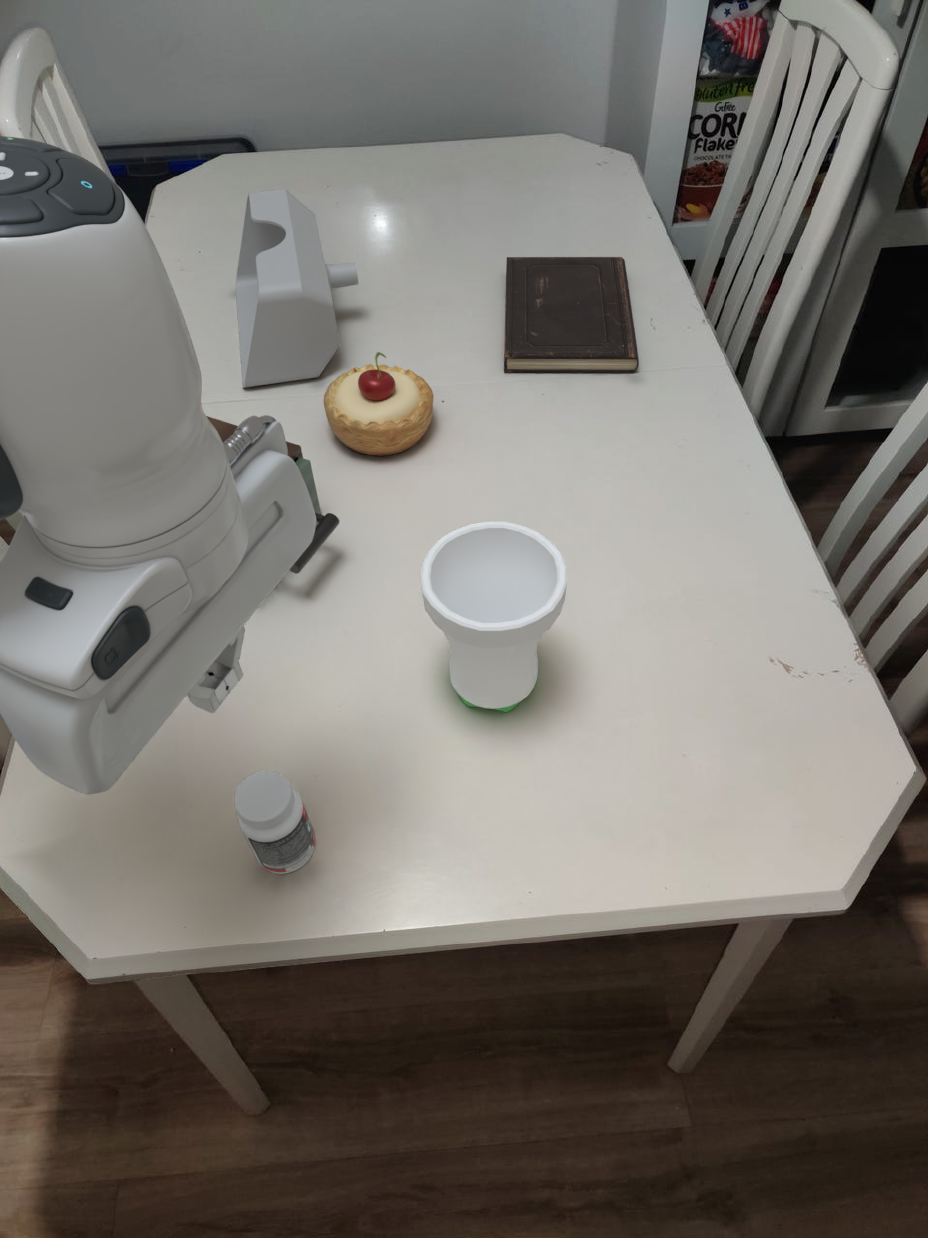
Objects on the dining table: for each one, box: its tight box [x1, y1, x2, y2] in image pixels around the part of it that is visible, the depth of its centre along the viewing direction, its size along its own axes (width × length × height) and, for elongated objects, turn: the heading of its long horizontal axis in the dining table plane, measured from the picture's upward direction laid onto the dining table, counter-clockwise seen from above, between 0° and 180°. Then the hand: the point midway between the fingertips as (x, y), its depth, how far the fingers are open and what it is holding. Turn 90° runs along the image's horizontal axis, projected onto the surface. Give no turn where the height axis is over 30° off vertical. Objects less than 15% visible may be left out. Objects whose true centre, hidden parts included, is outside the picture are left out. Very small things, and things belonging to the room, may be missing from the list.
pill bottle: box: [233, 769, 317, 875], centre depth 64 cm, size 5×5×8 cm
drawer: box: [289, 457, 340, 575], centre depth 84 cm, size 19×12×8 cm, turn 64°
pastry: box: [323, 351, 434, 456], centre depth 95 cm, size 12×12×9 cm
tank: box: [235, 188, 359, 389], centre depth 107 cm, size 25×16×12 cm, turn 12°
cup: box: [419, 521, 568, 713], centre depth 71 cm, size 11×11×14 cm
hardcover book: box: [503, 256, 640, 374], centre depth 111 cm, size 16×23×2 cm
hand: (218, 691), depth 51 cm, fingers closed
